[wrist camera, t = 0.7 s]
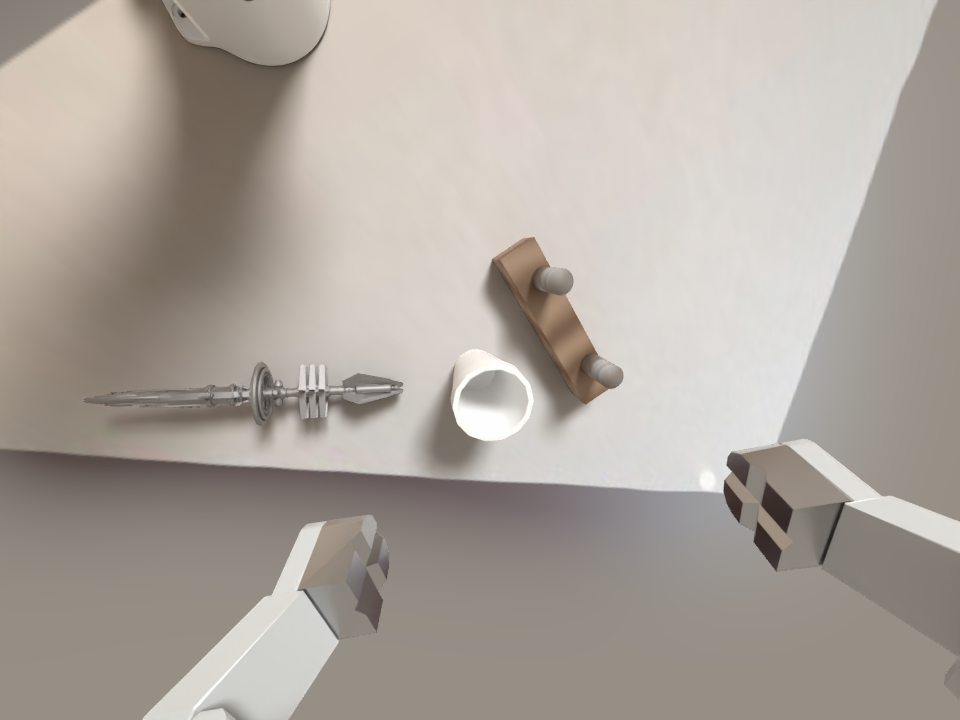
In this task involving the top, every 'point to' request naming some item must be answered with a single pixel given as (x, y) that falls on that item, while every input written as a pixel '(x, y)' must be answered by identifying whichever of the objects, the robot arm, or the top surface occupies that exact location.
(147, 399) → the spaceship
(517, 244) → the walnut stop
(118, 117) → the top surface
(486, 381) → the foam cup
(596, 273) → the top surface
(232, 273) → the top surface
